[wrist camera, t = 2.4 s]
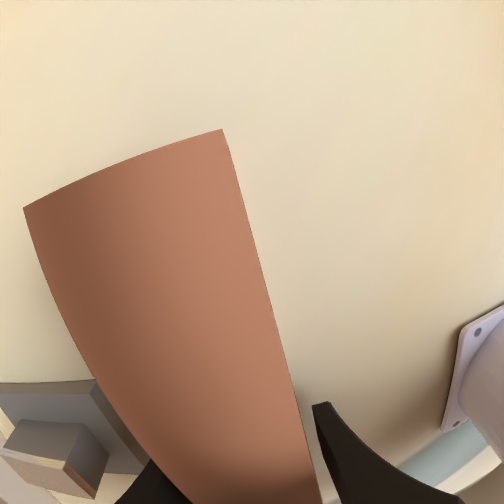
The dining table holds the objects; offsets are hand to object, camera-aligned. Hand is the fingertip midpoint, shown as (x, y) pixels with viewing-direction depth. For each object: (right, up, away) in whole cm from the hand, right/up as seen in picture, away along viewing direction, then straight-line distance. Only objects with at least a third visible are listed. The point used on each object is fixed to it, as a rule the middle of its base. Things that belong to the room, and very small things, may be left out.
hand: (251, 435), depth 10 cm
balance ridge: (-10, -2, +2) cm, 10 cm away
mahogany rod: (0, 0, +2) cm, 2 cm away
